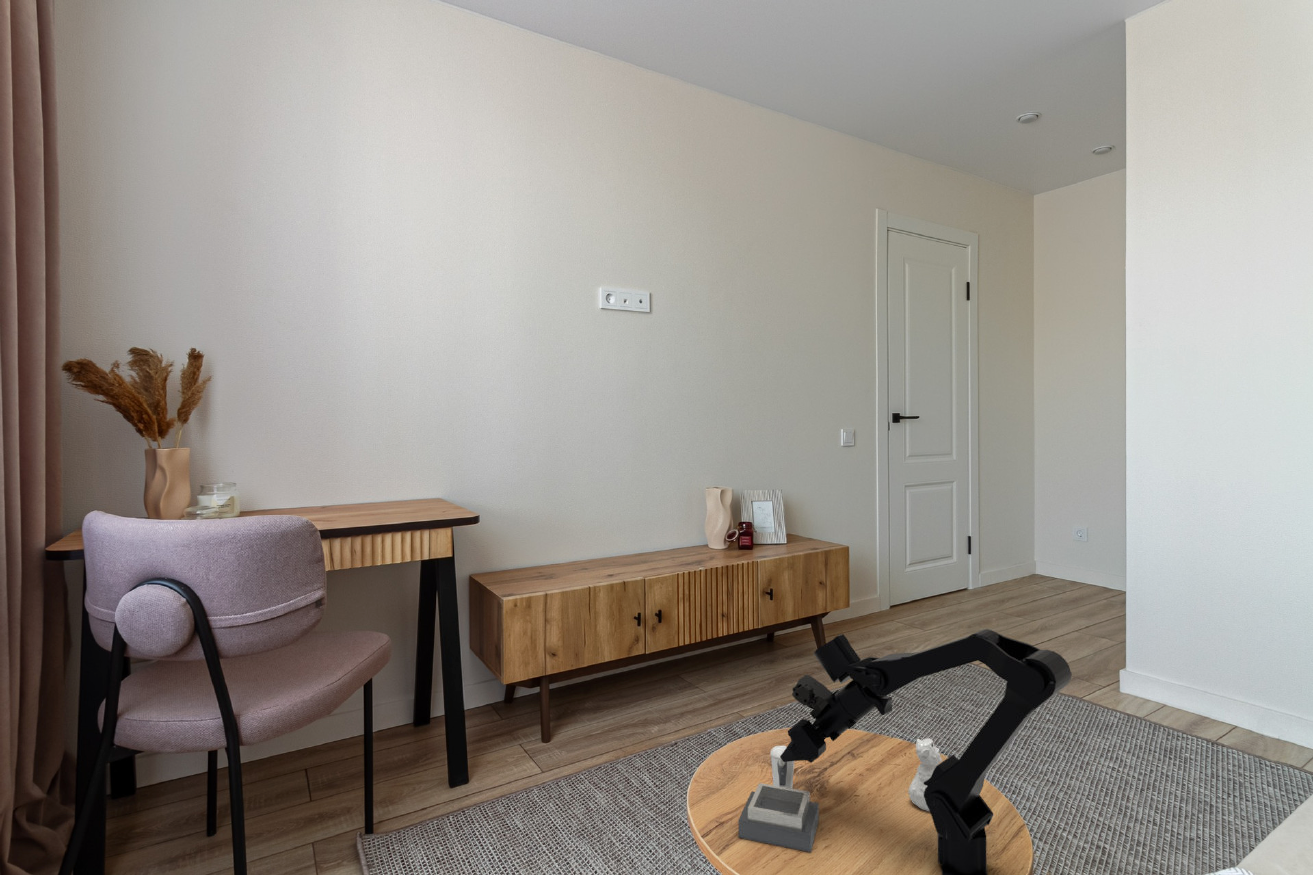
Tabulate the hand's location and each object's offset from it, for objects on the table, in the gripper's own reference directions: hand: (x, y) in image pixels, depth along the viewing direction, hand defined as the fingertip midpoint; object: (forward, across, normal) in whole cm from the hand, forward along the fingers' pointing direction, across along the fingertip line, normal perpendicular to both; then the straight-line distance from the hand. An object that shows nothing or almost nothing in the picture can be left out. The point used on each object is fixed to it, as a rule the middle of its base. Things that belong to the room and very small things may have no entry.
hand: (792, 749), depth 128 cm
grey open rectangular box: (+5, +10, +8) cm, 14 cm away
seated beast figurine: (-9, -12, +22) cm, 27 cm away
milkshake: (+8, 0, +6) cm, 10 cm away
